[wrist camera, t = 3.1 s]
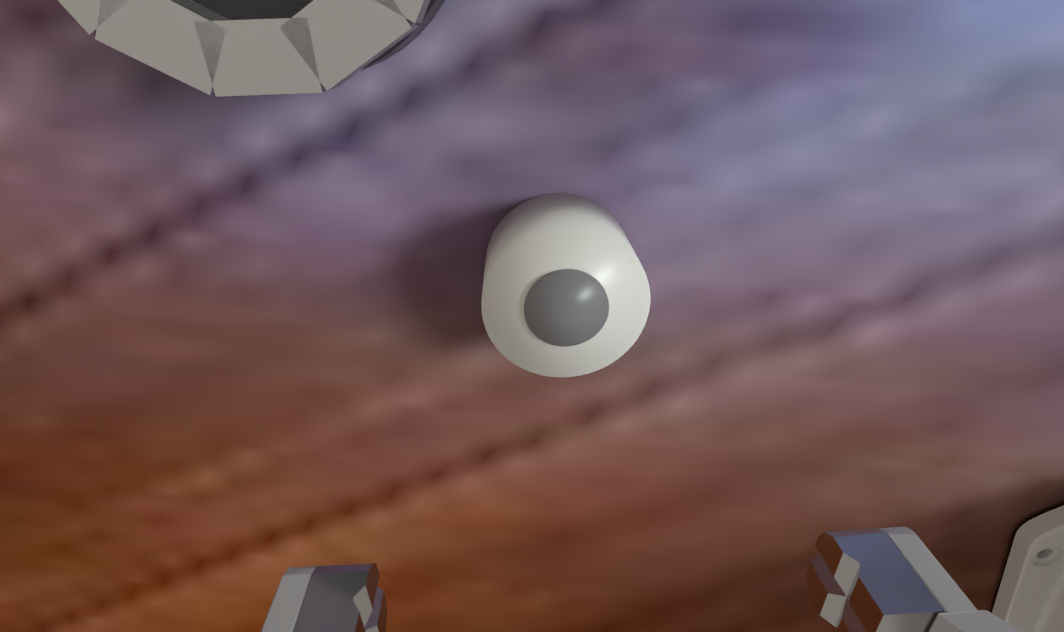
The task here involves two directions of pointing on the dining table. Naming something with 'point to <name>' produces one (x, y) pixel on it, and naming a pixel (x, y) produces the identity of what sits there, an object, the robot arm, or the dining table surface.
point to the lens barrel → (256, 39)
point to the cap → (562, 287)
